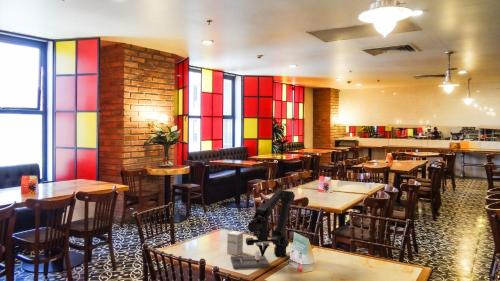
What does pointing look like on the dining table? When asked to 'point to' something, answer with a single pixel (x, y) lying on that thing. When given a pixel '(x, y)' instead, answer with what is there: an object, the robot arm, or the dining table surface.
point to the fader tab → (257, 254)
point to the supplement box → (235, 242)
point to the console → (249, 262)
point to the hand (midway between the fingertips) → (262, 256)
